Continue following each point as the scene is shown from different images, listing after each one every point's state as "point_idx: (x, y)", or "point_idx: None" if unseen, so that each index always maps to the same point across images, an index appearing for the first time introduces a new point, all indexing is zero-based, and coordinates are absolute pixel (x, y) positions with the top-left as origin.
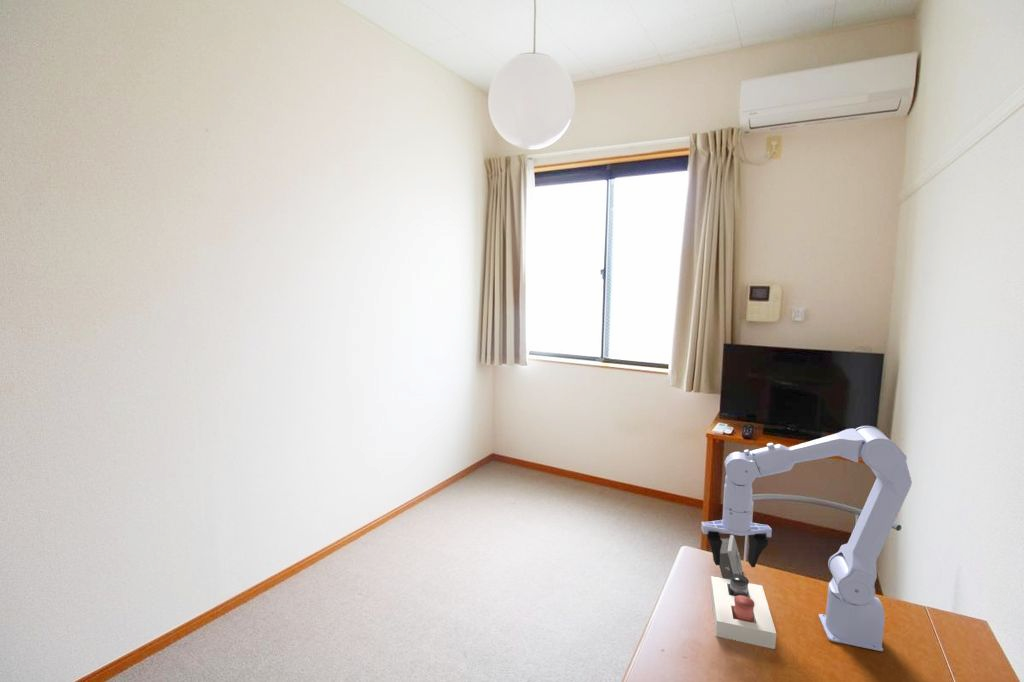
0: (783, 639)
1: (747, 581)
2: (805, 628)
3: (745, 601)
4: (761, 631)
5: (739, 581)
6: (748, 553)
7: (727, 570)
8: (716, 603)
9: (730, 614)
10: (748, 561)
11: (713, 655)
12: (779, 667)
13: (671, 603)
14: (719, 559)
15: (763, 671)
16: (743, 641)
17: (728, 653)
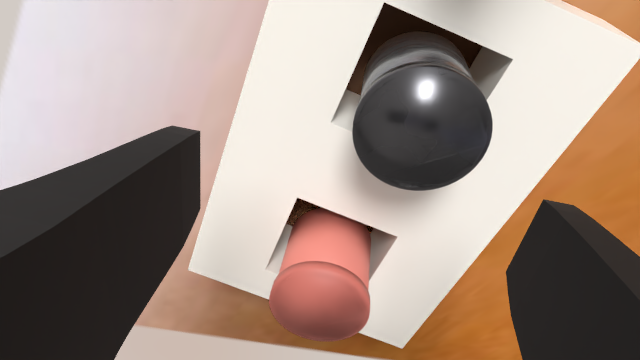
0: (472, 265)
1: (464, 167)
2: (631, 232)
3: (324, 309)
4: None
5: (401, 160)
6: (588, 250)
7: None
8: (225, 176)
9: (263, 248)
10: (544, 207)
11: (176, 284)
12: (364, 342)
13: (55, 15)
14: (162, 272)
15: (305, 344)
16: None
17: (228, 285)
